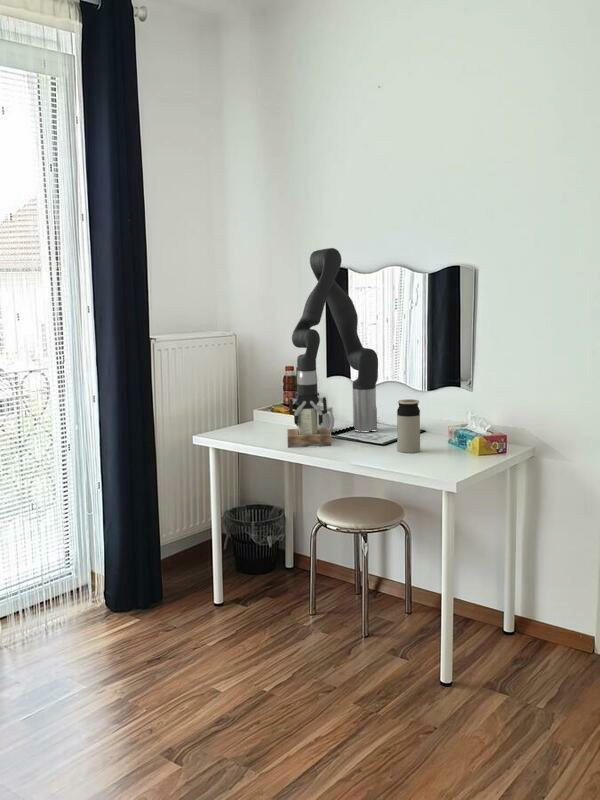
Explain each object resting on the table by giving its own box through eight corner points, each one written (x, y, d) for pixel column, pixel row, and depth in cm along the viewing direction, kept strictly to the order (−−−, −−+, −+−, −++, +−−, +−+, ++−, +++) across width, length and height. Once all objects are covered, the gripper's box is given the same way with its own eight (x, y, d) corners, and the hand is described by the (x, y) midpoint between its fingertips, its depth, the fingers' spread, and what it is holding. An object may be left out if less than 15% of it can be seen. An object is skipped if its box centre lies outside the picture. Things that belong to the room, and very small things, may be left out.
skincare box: (318, 439, 303) (317, 407, 301) (312, 441, 299) (311, 409, 297) (304, 438, 306) (303, 406, 304) (298, 440, 303) (297, 408, 301)
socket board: (329, 438, 310) (328, 427, 309) (331, 446, 296) (330, 435, 296) (287, 439, 310) (287, 429, 309) (287, 447, 296) (287, 436, 296)
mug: (311, 429, 328) (310, 405, 326) (334, 429, 327) (333, 404, 325) (310, 435, 317) (309, 410, 315) (334, 434, 316) (333, 409, 315)
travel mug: (423, 449, 286) (423, 400, 283) (414, 454, 279) (413, 403, 276) (403, 447, 290) (403, 398, 287) (393, 452, 284) (393, 402, 281)
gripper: (325, 380, 303) (326, 422, 306) (288, 381, 303) (289, 423, 306) (326, 383, 296) (327, 426, 298) (288, 384, 296) (289, 427, 298)
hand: (308, 425), depth 302 cm, fingers open, 8 cm apart
